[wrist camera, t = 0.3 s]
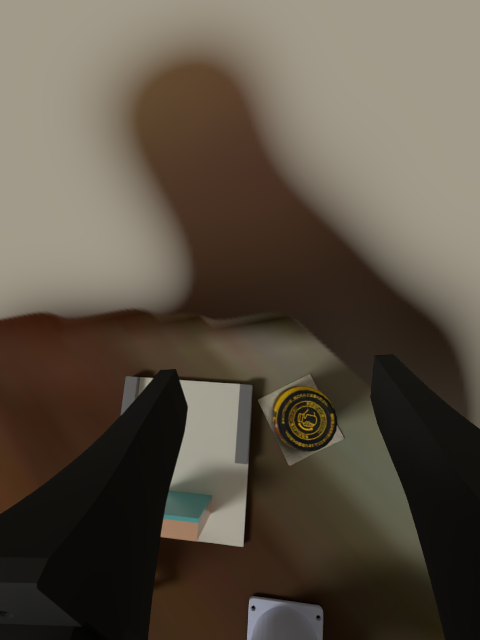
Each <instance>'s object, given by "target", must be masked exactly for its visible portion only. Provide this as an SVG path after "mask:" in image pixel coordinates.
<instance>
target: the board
mask: <svg viewBox="0 0 480 640" xmlns="http://www.w3.org/2000/svg"><path fill="white" fill-rule="evenodd" d="M152 379H153V378H144V377H129V376H126V380H125V387H124V395H123V402H122V410H121V415H122V414H123V413H124V412H125V411H126V409H127V408H128V407H129V406H130V405H131V404H132V403H133V402H134V400H135V399H136V398H137V397H138V396H139V395H140V393H141V392H142V391H143V390H144V389H145V388H146V386H147V385H148V384H149V383H150V382H151V380H152ZM180 383H181V387H182V390H183V393H184V396H185V399H186V402H187V405H188V412H187V420H186V426H185V433H184V437H183V440H182V444H181V448H180V452H179V455H178V459H177V463H176V466H175V470H174V474H173V477H172V481H171V485H170V488H169V491H178V492H187V493H196V494H205V495H212V504H211V514H210V516H209V518H208V520H207V522H206V524H205V526H204V528H203V530H202V532H201V534H200V536H199V538H198V540H197V541H201V542H209V543H217V544H225V545H233V546H240V547H243V545H244V533H245V516H246V499H247V482H248V465H249V448H250V432H251V415H252V398H253V385H245V384H230V383H216V382H201V381H187V380H180Z"/></svg>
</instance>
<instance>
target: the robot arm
mask: <svg viewBox="0 0 480 640" xmlns="http://www.w3.org/2000/svg"><path fill="white" fill-rule="evenodd" d="M370 398H371V401H372V405H373V409H374V413H375V417H376V420H377V424H378V426H379V429H380V432H381V434H382V436H383V439H384V441H385V444H386V446H387V449H388V451H389V454H390V456H391V459H392V461H393V464H394V466H395V469H396V471H397V473H398V476H399V478H400V481H401V483H402V486H403V489H404V491H405V494H406V497H407V500H408V503H409V507H410V510H411V513H412V517H413V520H414V523H415V527H416V530H417V533H418V537H419V540H420V544H421V548H422V551H423V555H424V558H425V562H426V565H427V569H428V573H429V577H430V580H431V584H432V588H433V592H434V596H435V599H436V603H437V607H438V611H439V615H440V620H441V624H442V628H443V632H444V636H445V640H480V429H479V428H478V427H476V426H475V425H474V424H472V423H471V422H470V421H468V420H467V419H466V418H465V417H463V416H462V415H461V414H459V413H458V412H457V411H456V410H454V409H453V408H452V407H451V406H449V405H448V404H447V403H446V402H445V401H444V400H442V399H441V398H440V397H439V396H438V395H437V394H436V393H434V392H433V391H432V390H431V389H430V388H429V387H428V386H426V385H425V384H424V383H423V382H422V381H421V380H420V379H419V378H418V377H416V375H414V374H413V373H412V372H411V371H410V370H409V369H408V368H407V367H406V366H405V365H404V364H403V363H402V362H401V361H400V360H399V359H398V358H397V357H395V356H394V355H393V354H391V355H376V356H375V358H374V367H373V377H372V387H371V396H370ZM187 412H188V405H187V402H186V399H185V396H184V393H183V390H182V387H181V383H180V380H179V377H178V374H177V371H176V369H170V370H160V371H159V372H158V373H157V375H156V376H155V377H154V378H153V379H152V380H151V382H150V383H149V384H148V385H147V386H146V388H145V389H144V390H143V391H142V392H141V393H140V395H139V396H138V397H137V398H136V399H135V400H134V402H133V403H132V404H131V405H130V406H129V407H128V408H127V409H126V411H125V412H124V413H123V414H122V415H121V416H120V417H119V418H118V419H117V420H116V421H115V422H114V423H113V424H112V425H111V427H110V428H109V429H108V430H107V431H106V432H105V433H104V434H103V435H102V436H101V437H100V438H99V439H98V440H97V441H95V442H94V443H93V444H92V445H91V446H90V447H89V448H88V449H87V450H86V451H84V452H83V453H82V454H81V455H80V456H79V457H78V458H76V459H75V460H74V461H73V462H72V463H70V464H69V465H68V466H67V467H65V468H64V469H63V470H62V471H60V472H59V473H58V474H57V475H55V476H54V477H53V478H52V479H50V480H49V481H48V482H46V483H45V484H44V485H42V486H41V487H39V488H38V489H37V490H35V491H34V492H33V493H31V494H30V495H28V496H27V497H25V498H24V499H23V500H21V501H20V502H18V503H17V504H15V505H14V506H12V507H11V508H9V509H8V510H6V511H5V512H3V513H1V514H0V640H148V632H149V623H150V613H151V604H152V595H153V587H154V579H155V571H156V564H157V556H158V550H159V543H160V537H161V530H162V524H163V518H164V512H165V507H166V501H167V497H168V493H169V488H170V485H171V481H172V477H173V474H174V470H175V466H176V463H177V459H178V455H179V452H180V448H181V444H182V440H183V437H184V433H185V426H186V420H187ZM252 606H255V607H256V608H255V609H253V608H252ZM317 615H319V616H320V618H316V616H317ZM247 640H323V609H322V607H321V606H319V605H313V604H306V603H299V602H292V601H285V600H278V599H271V598H264V597H257V596H252V597H251V598H250V600H249V614H248V632H247Z"/></svg>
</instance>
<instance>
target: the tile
mask: <svg viewBox="0 0 480 640" xmlns="http://www.w3.org/2000/svg"><path fill="white" fill-rule="evenodd" d="M211 504H212V495H205V494H196V493H187V492H178V491H169V493H168V497H167V501H166V507H165V512H164V518H163V524H162V530H161V537H165V538H173V539H181V540H189V541H197V540H198V538H199V536H200V534H201V532H202V530H203V528H204V526H205V524H206V522H207V520H208V518H209V516H210V514H211Z"/></svg>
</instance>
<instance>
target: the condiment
mask: <svg viewBox="0 0 480 640" xmlns="http://www.w3.org/2000/svg"><path fill="white" fill-rule="evenodd" d="M258 402H259V404H260V406H261V408H262V410H263V412H264V414H265V416H266V418H267V421H268V423H269V425H270V427H271V429H272V431H273V433H274V435H275V437H276V439H277V441H278V444H279V446H280V448H281V450H282V452H283V454H284V456H285V458H286V460H287V462H288V464H289V466H291V465H293V464H295V463H296V462H298V461H300V460H302V459H304V458H306V457H308V456H310V455H312V454H314V453H316V452H318V451H320V450H322V449H324V448H326V447H328V446H330V445H332V444H334V443H336V442H338V441H340V440H342V439H344V437H343V435H342V433H341V431H340V430H339V428H338V426H337V416H336V413H335V412H336V411H335V410H334V408H333V406H332V404H331V402H330V400H329V399H328V398H327V397H326V396H325V395H324V394H323V393H321V392H320V391H319V390H318V388H317V386H316V384H315V383H314V381H313V379H312V377H311V375H310V374H309V375H307V376H305V377H302V378H300V379H298V380H296V381H294V382H292V383H290V384H288V385H286V386H284V387H282V388H280V389H278V390H276V391H274V392H272V393H270V394H268V395H266V396H264V397H262V398H260V399H258Z"/></svg>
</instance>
